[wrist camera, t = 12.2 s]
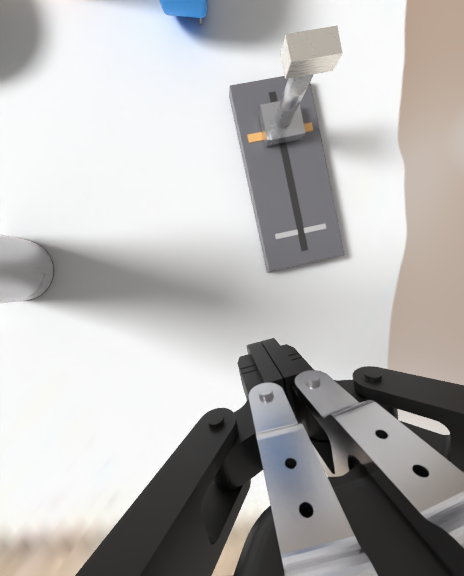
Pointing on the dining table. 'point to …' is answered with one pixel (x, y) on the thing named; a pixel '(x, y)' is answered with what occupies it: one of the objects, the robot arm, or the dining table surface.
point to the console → (286, 181)
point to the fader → (298, 81)
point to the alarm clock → (185, 8)
